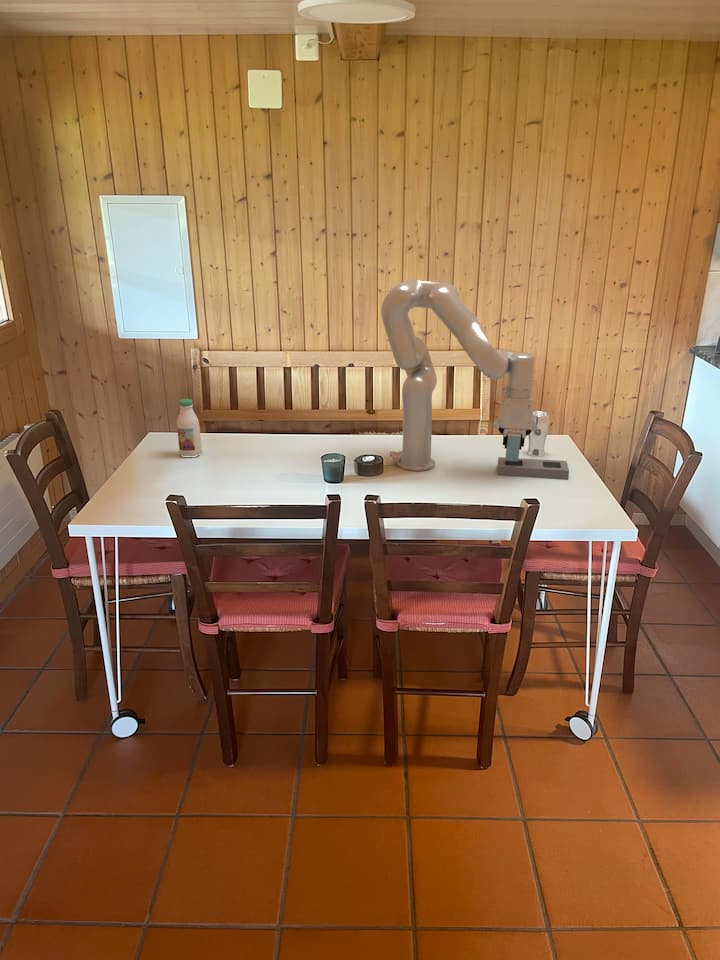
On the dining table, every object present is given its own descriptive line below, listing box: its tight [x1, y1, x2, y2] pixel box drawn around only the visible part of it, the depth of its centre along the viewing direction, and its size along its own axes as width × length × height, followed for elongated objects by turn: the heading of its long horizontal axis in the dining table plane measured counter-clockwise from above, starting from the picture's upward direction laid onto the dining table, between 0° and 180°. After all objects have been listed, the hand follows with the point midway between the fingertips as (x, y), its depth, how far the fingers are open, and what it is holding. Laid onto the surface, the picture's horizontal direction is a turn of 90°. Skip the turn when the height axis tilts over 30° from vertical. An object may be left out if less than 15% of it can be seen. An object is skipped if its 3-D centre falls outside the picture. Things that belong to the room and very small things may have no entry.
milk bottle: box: [176, 398, 203, 456], centre depth 243 cm, size 8×8×20 cm
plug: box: [504, 429, 522, 462], centre depth 224 cm, size 4×4×9 cm
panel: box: [496, 456, 570, 480], centre depth 226 cm, size 22×9×4 cm, turn 79°
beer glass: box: [526, 410, 550, 458], centre depth 241 cm, size 7×7×15 cm
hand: (512, 447), depth 224 cm, fingers closed on plug, 4 cm apart
